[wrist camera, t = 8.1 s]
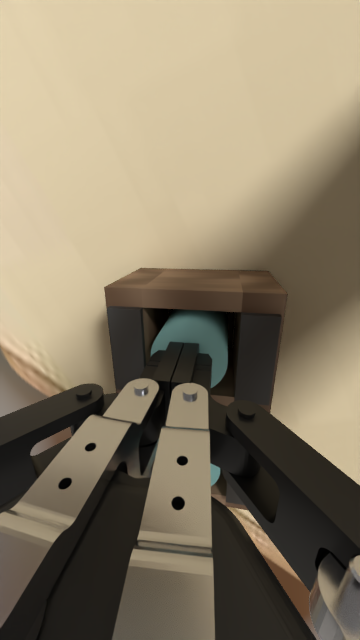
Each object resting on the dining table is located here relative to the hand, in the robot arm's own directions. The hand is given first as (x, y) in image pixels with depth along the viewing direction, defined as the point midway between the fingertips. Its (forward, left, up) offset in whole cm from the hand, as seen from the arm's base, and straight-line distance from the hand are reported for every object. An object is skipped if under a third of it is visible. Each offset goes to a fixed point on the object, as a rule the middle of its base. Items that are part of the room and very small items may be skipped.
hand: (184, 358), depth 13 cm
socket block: (0, +4, -7) cm, 8 cm away
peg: (0, 0, -6) cm, 6 cm away
